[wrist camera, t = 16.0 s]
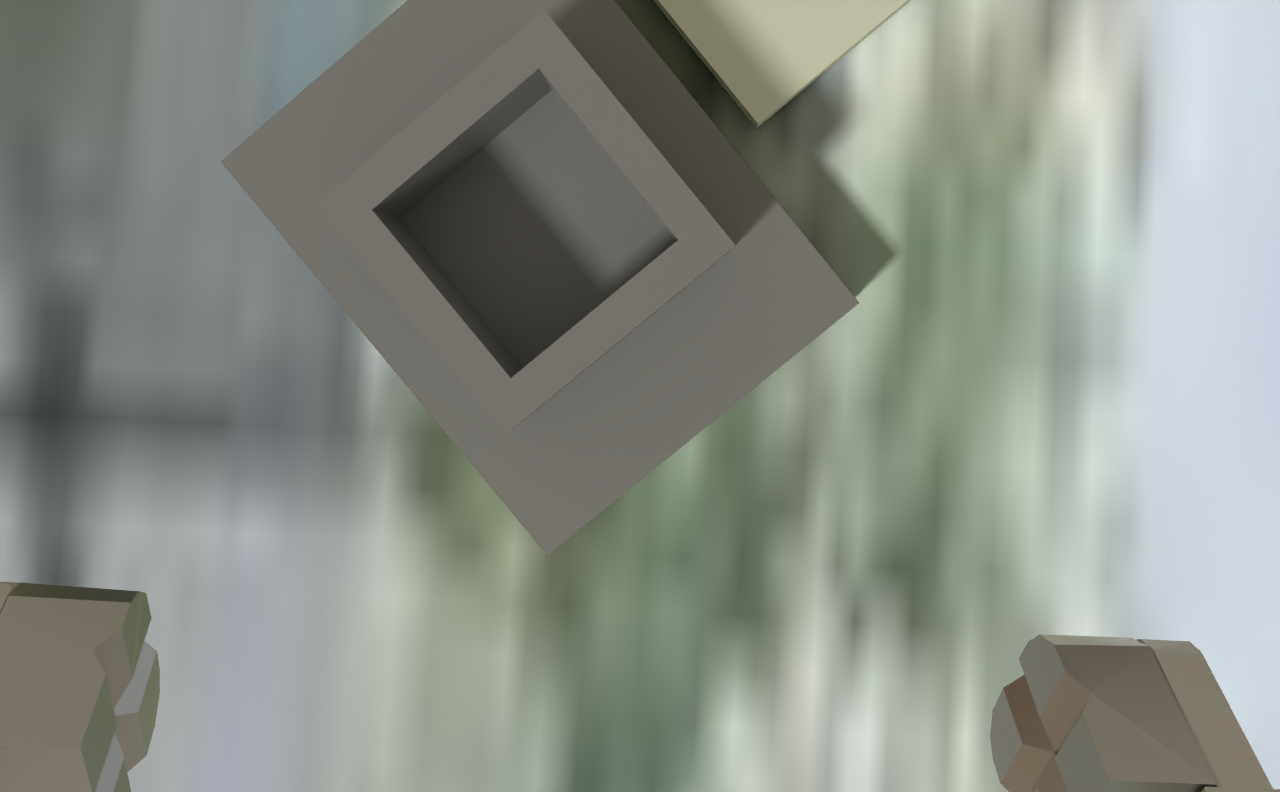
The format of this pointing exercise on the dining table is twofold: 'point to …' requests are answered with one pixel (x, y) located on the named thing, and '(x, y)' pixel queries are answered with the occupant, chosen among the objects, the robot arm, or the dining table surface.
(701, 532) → the dining table surface
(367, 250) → the socket
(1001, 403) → the dining table surface
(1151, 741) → the robot arm
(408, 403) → the dining table surface
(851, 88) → the dining table surface
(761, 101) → the mat
